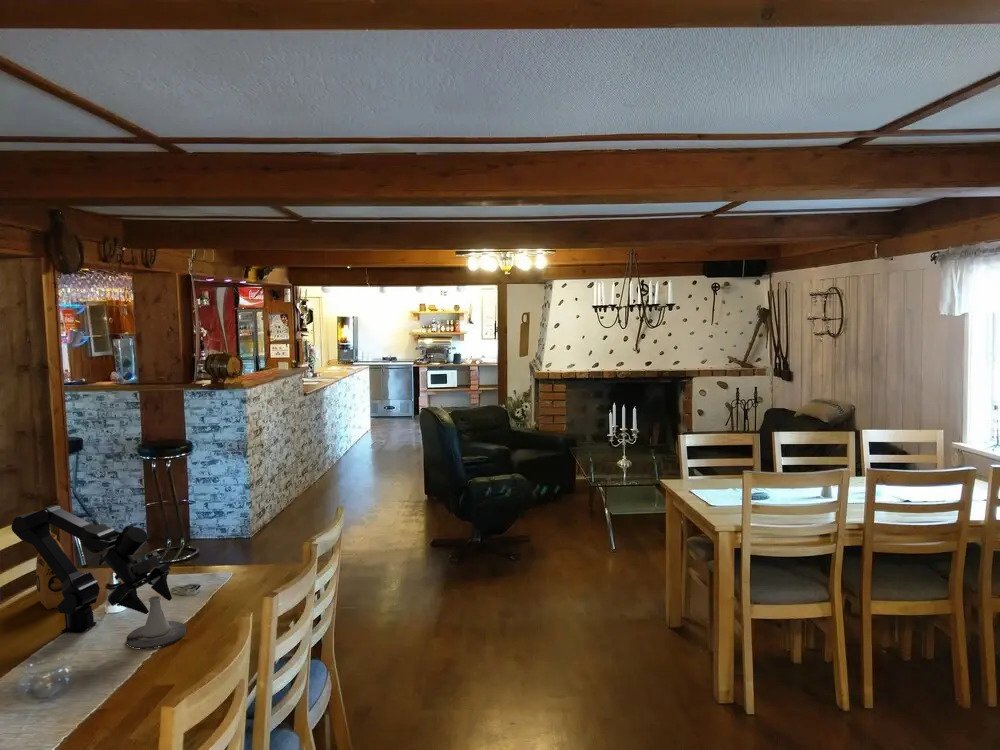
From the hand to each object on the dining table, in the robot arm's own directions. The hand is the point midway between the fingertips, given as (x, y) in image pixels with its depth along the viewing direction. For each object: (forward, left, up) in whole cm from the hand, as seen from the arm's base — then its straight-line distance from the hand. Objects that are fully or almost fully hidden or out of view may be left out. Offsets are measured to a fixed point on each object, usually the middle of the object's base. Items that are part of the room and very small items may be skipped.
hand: (159, 606), depth 193 cm
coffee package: (-48, +20, -9) cm, 53 cm away
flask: (-1, 0, -8) cm, 8 cm away
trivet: (-1, 0, -9) cm, 9 cm away
